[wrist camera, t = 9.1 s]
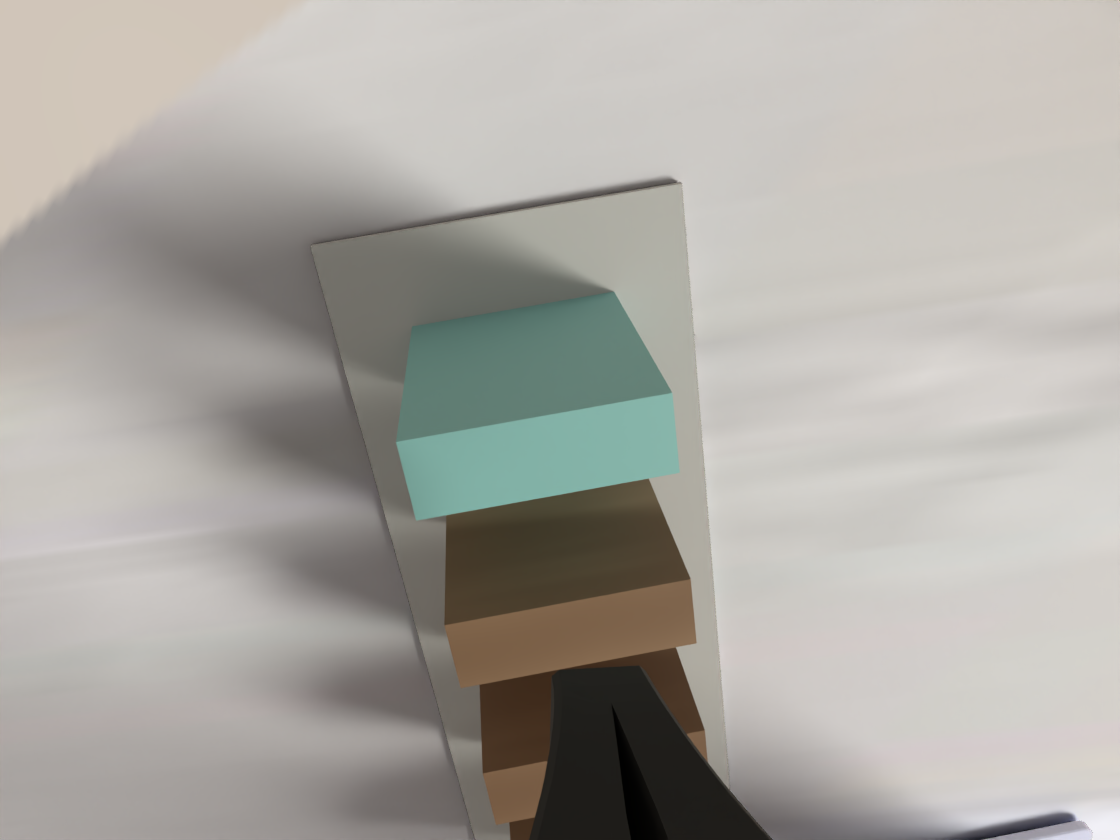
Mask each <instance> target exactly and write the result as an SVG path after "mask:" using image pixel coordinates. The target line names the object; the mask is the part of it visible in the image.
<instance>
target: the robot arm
mask: <svg viewBox="0 0 1120 840" xmlns="http://www.w3.org/2000/svg"><path fill="white" fill-rule="evenodd" d="M1092 837H1093V832H1092V831H1091V829H1090V828H1089V827H1088V826H1087V824H1086V823H1085V822H1082V821H1072V822H1067V823H1063V824H1058V825H1053V826H1048V827H1043V828H1038V829H1033V830H1028V831H1023V832H1018V833H1013V834H1008V835H1003V836H998V837H993V838H988V839H983V840H1092ZM529 840H772V838H771V837H770V836H769V835H768V834H767V833H766V832H765V831H764V830H763V829H762V827H761V826H760V825H759V824H758V823H757V822H756V821H755V819H754V818H753V817H752V816H751V815H750V814H749V813H748V811H747V810H746V809H745V808H744V807H743V806H742V804H741V803H740V802H739V801H738V800H737V799H736V797H735V796H734V795H733V794H732V792H731V791H730V790H729V789H728V788H727V786H726V785H725V784H724V783H723V781H722V780H721V779H720V778H719V776H718V775H717V774H716V772H715V771H714V770H713V769H712V767H711V766H710V765H709V763H708V762H707V761H706V759H705V758H704V757H703V755H702V754H701V753H700V752H699V750H698V749H697V748H696V746H695V745H694V744H693V742H692V741H691V739H690V738H689V737H688V735H687V734H686V732H685V731H684V730H683V728H682V727H681V725H680V724H679V722H678V721H677V719H676V718H675V717H674V715H673V714H672V712H671V711H670V709H669V708H668V706H667V705H666V703H665V702H664V700H663V699H662V697H661V695H660V694H659V692H658V691H657V689H656V687H655V686H654V684H653V683H652V681H651V679H650V678H649V676H648V674H647V672H646V671H645V670H644V669H643V668H642V667H640V666H639V665H638V666H620V667H602V668H584V669H565V670H559V671H557V672H556V673H555V674H554V675H552V677H551V715H550V750H549V755H548V761H547V766H546V772H545V778H544V783H543V787H542V792H541V796H540V799H539V803H538V807H537V811H536V815H535V819H534V823H533V826H532V830H531V834H530V838H529Z"/></svg>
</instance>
